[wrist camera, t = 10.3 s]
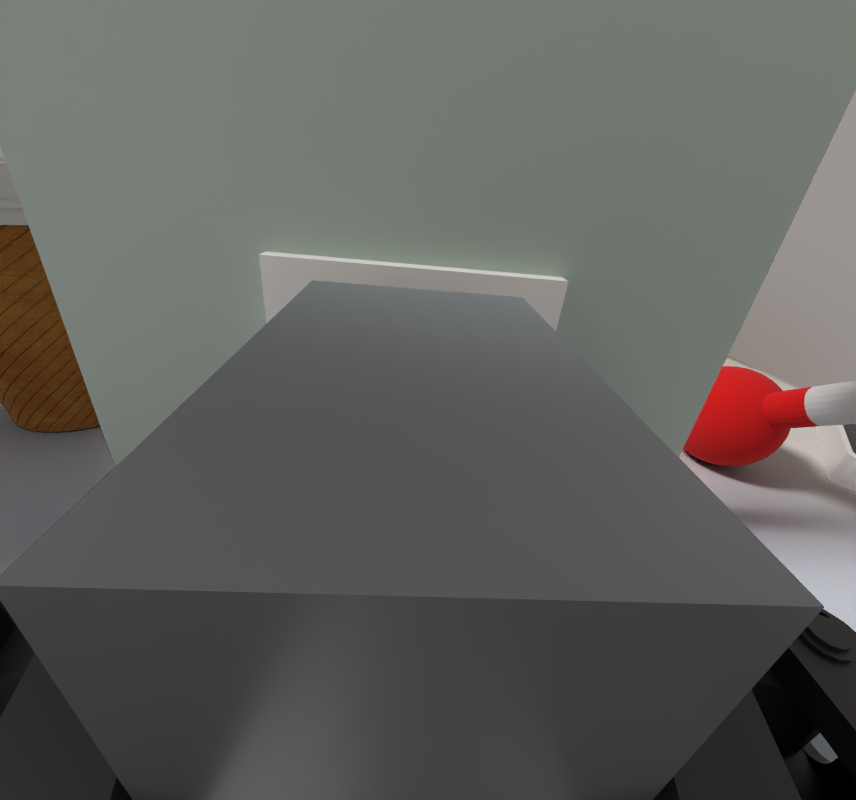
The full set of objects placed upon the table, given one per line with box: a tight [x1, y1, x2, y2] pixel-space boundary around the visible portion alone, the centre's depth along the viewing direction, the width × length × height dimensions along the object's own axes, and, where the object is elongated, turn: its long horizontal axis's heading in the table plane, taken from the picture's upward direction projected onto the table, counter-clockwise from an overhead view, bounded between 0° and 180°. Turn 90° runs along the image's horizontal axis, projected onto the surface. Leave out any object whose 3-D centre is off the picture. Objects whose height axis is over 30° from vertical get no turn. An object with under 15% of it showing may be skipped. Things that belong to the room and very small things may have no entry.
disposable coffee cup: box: [0, 157, 100, 432], centre depth 20 cm, size 10×10×12 cm
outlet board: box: [0, 0, 856, 467], centre depth 15 cm, size 22×7×18 cm, turn 92°
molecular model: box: [683, 366, 856, 466], centre depth 21 cm, size 18×6×10 cm, turn 18°
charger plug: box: [0, 280, 824, 800], centre depth 9 cm, size 5×10×10 cm, turn 2°
